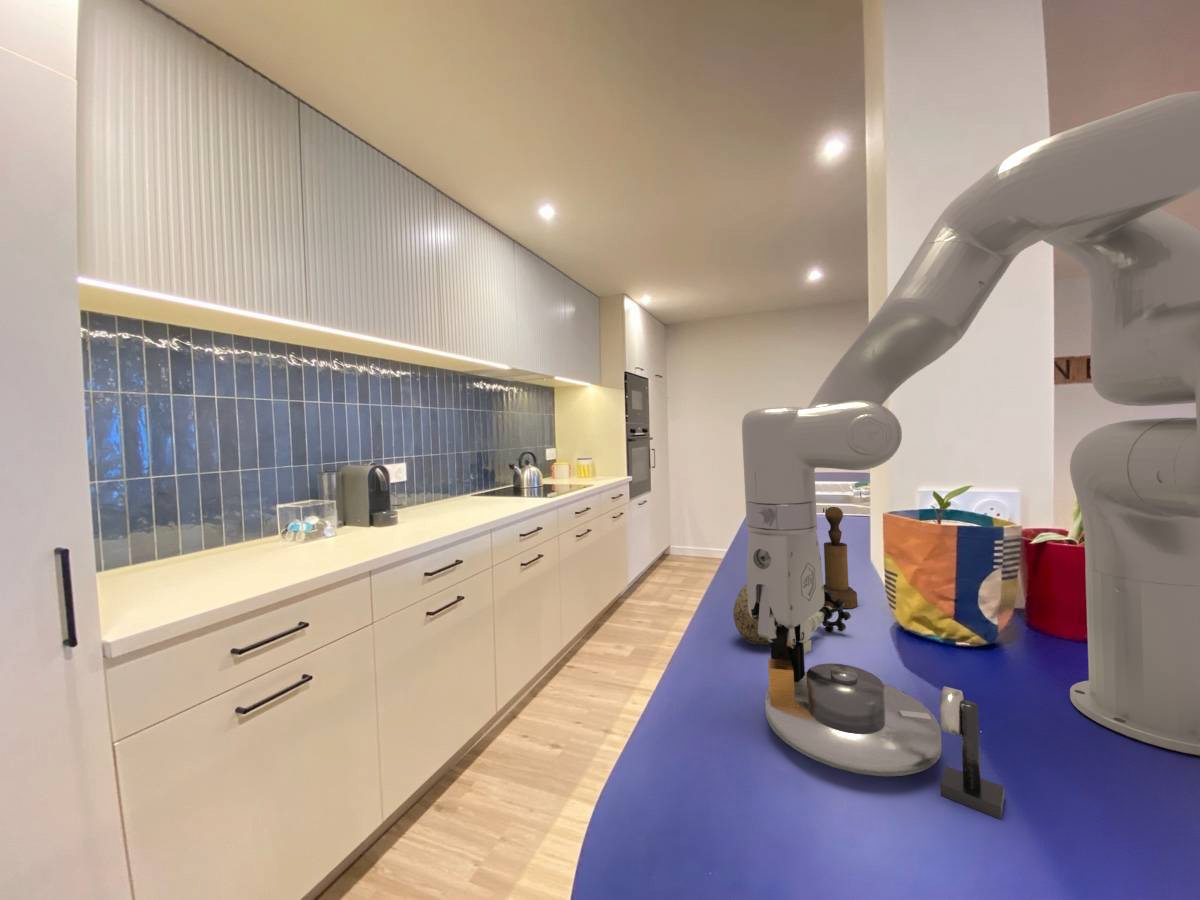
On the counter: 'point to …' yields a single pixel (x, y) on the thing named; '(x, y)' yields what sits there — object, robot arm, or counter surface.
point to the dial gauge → (967, 757)
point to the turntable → (887, 752)
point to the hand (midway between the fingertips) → (788, 675)
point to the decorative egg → (746, 620)
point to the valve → (825, 619)
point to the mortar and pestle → (837, 562)
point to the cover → (846, 698)
